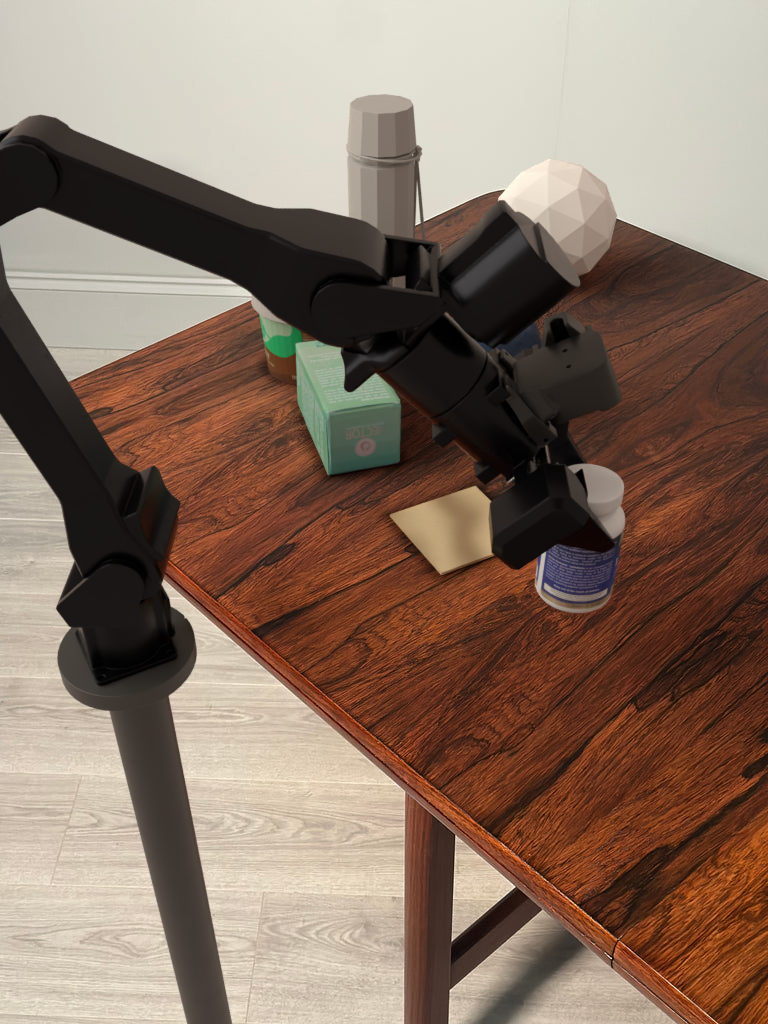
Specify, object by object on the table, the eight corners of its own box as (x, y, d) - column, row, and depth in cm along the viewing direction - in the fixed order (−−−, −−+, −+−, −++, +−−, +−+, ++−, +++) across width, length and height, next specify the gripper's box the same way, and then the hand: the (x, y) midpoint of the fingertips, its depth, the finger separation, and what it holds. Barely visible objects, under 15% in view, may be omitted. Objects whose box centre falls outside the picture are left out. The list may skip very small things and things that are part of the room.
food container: (246, 345, 118) (238, 263, 112) (299, 337, 119) (294, 255, 113) (270, 401, 109) (263, 314, 103) (327, 391, 110) (323, 305, 104)
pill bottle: (626, 605, 76) (648, 496, 70) (557, 625, 74) (574, 515, 68) (586, 557, 80) (604, 450, 74) (520, 575, 79) (532, 467, 72)
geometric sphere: (516, 317, 134) (449, 223, 128) (579, 243, 139) (517, 149, 133) (594, 302, 122) (524, 198, 116) (659, 221, 127) (595, 118, 121)
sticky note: (441, 575, 87) (441, 572, 87) (389, 516, 93) (389, 514, 93) (530, 542, 90) (530, 540, 90) (475, 488, 97) (475, 485, 97)
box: (327, 479, 98) (325, 411, 93) (296, 406, 108) (292, 341, 103) (402, 467, 99) (403, 399, 95) (364, 395, 110) (363, 331, 105)
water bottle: (366, 344, 118) (362, 119, 103) (340, 314, 124) (333, 97, 108) (438, 328, 121) (446, 107, 106) (410, 300, 127) (413, 86, 111)
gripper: (570, 383, 56) (734, 545, 62) (538, 239, 70) (673, 383, 77) (419, 497, 61) (585, 636, 67) (418, 340, 75) (554, 467, 82)
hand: (603, 520), depth 73 cm, fingers closed on pill bottle, 6 cm apart
